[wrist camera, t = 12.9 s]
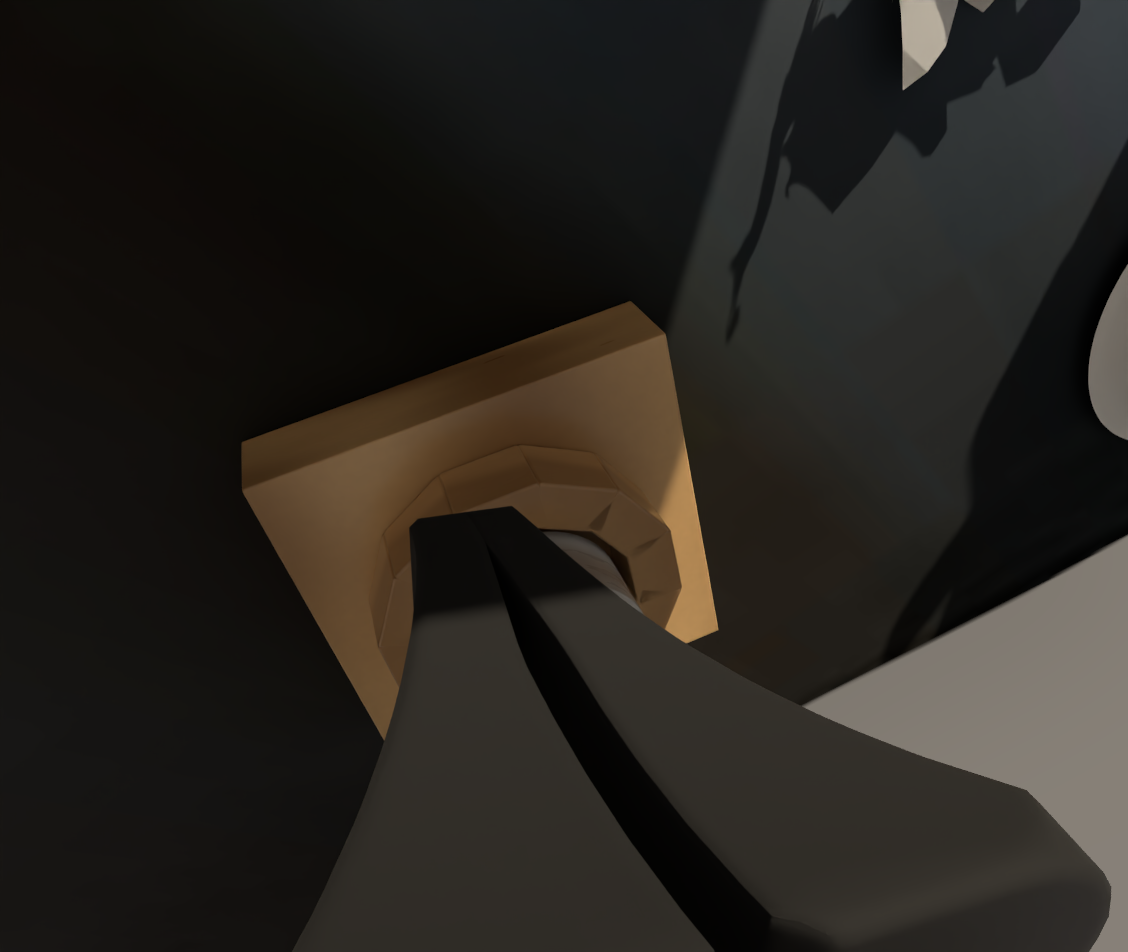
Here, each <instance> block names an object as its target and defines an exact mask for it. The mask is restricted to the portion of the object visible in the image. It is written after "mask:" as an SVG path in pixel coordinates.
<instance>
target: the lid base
mask: <svg viewBox="0 0 1128 952" xmlns="http://www.w3.org/2000/svg"><path fill="white" fill-rule="evenodd" d="M241 444H242V492H243V494H244V496H245V497H246V499H247V501H248V503H249V504H250V506H251V508H252V510H253V511H254V513H255V515H256V517H257V518H258V520H259V522H260V524H261V525H262V527H263V529H264V531H265V532H266V534H267V536H268V538H269V539H270V541H271V543H272V545H273V546H274V548H275V550H276V552H277V554H278V555H279V557H280V559H281V561H282V562H283V564H284V566H285V568H286V569H287V571H288V573H289V575H290V576H291V578H292V580H293V582H294V583H295V585H296V587H297V589H298V590H299V592H300V594H301V596H302V597H303V599H304V601H305V603H306V604H307V606H308V608H309V610H310V611H311V613H312V615H313V617H314V618H315V620H316V622H317V624H318V625H319V627H320V629H321V631H322V632H323V634H324V636H325V638H326V639H327V641H328V643H329V645H330V646H331V648H332V650H333V652H334V653H335V655H336V657H337V659H338V661H339V662H340V664H341V666H342V668H343V669H344V671H345V673H346V675H347V676H348V678H349V680H350V682H351V683H352V685H353V687H354V689H355V690H356V692H357V694H358V696H359V697H360V699H361V701H362V703H363V704H364V706H365V708H366V710H367V711H368V713H369V715H370V717H371V718H372V720H373V722H374V724H375V725H376V727H377V729H378V731H379V732H380V734H381V736H382V738H383V739H384V740H385V737H386V734H387V730H388V727H389V724H390V721H391V717H392V714H393V710H394V707H395V703H396V699H397V695H398V691H399V687H400V683H401V679H402V674H403V669H404V664H405V659H406V654H407V649H408V644H409V639H410V634H411V628H412V620H413V611H414V609H413V590H412V572H411V554H410V536H409V527H410V526H411V525H412V524H413V523H414V522H415V521H416V520H417V519H419V518H426V517H433V516H441V515H448V514H455V513H463V512H470V511H477V510H485V509H492V508H499V507H507V506H513V507H514V508H515V509H516V510H518V511H519V512H520V513H521V514H522V515H523V516H525V517H526V518H527V519H528V520H529V521H530V522H531V523H533V524H534V525H535V526H536V527H537V528H538V529H539V530H540V531H542V532H565V533H571V534H575V535H578V536H581V537H583V538H586V539H588V540H590V541H592V542H593V543H595V544H597V545H598V546H599V547H600V548H602V549H603V550H604V551H605V552H606V553H607V555H608V556H609V557H610V558H611V560H612V562H613V563H614V565H615V567H616V568H617V570H618V572H619V573H620V575H621V577H622V579H623V580H624V582H625V584H626V585H627V587H628V589H629V590H630V592H631V594H632V595H633V597H634V599H635V600H636V602H637V604H638V605H639V607H640V609H641V611H642V612H643V614H644V615H645V616H646V617H648V618H649V619H651V620H652V621H654V622H655V623H656V624H658V625H659V626H661V627H662V628H664V629H665V630H666V631H668V632H669V633H671V634H672V635H674V636H675V637H677V638H678V639H680V640H681V641H683V642H685V643H689V642H691V641H693V640H696V639H698V638H700V637H703V636H705V635H708V634H710V633H712V632H715V631H717V630H718V625H717V619H716V613H715V608H714V602H713V597H712V591H711V585H710V580H709V574H708V569H707V563H706V557H705V552H704V546H703V541H702V535H701V529H700V524H699V518H698V513H697V507H696V501H695V496H694V490H693V485H692V479H691V473H690V468H689V462H688V456H687V451H686V445H685V440H684V434H683V428H682V423H681V417H680V412H679V406H678V400H677V395H676V389H675V384H674V378H673V372H672V367H671V361H670V356H669V350H668V344H667V339H666V334H665V333H664V332H663V331H662V330H661V329H660V328H659V327H658V326H657V325H656V324H655V323H654V322H652V321H651V320H650V319H649V318H648V317H647V316H646V315H645V314H644V313H643V312H642V311H641V310H640V309H639V308H638V307H637V306H636V305H634V304H633V303H632V302H631V301H629V302H626V303H624V304H621V305H618V306H615V307H613V308H610V309H607V310H604V311H602V312H599V313H596V314H593V315H591V316H588V317H585V318H582V319H580V320H577V321H574V322H571V323H569V324H566V325H563V326H560V327H558V328H555V329H552V330H549V331H547V332H544V333H541V334H538V335H536V336H533V337H530V338H527V339H525V340H522V341H519V342H516V343H514V344H511V345H508V346H505V347H503V348H500V349H497V350H494V351H491V352H489V353H486V354H483V355H480V356H478V357H475V358H472V359H469V360H467V361H464V362H461V363H458V364H456V365H453V366H450V367H447V368H445V369H442V370H439V371H436V372H434V373H431V374H428V375H425V376H423V377H420V378H417V379H414V380H412V381H409V382H406V383H403V384H401V385H398V386H395V387H392V388H390V389H387V390H384V391H381V392H379V393H376V394H373V395H370V396H368V397H365V398H362V399H359V400H357V401H354V402H351V403H348V404H346V405H343V406H340V407H337V408H335V409H332V410H329V411H326V412H324V413H321V414H318V415H315V416H313V417H310V418H307V419H304V420H302V421H299V422H296V423H293V424H291V425H288V426H285V427H282V428H279V429H277V430H274V431H271V432H268V433H266V434H263V435H260V436H257V437H255V438H252V439H249V440H246V441H244V442H242V443H241Z"/></svg>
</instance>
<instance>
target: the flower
mask: <svg viewBox="0 0 1128 952" xmlns="http://www.w3.org/2000/svg"><path fill="white" fill-rule="evenodd" d="M965 1H966V2H968V3H969V4H971V5H972V6H974V7H975V8H977V9H978V10H980V11H981V12H984V11H985V10H986V9H987V8H988V7H989V6H990V5H991V3H992V2H993V1H994V0H965ZM892 2H893V0H892ZM899 2H900V9H901V22H902V45H903V90H904V89H906V88H907V87H908V86H910V85H911V84H912V83H913V82H915V81H916V80H917V79H919V78H920V77H921V76H923V75H924V74H925V73H927V72H928V70H929V69H930V68H931V66H932V65H933V63H934V62H935V61H936V59H937V58H938V57H939V55H940V54H941V52H942V51H943V50H944V48H945V47H946V44H947V41H948V37H949V33H950V29H951V26H952V22H953V18H954V15H955V11H956V7H957V4H958V0H899Z"/></svg>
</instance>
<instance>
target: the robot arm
mask: <svg viewBox="0 0 1128 952" xmlns="http://www.w3.org/2000/svg"><path fill="white" fill-rule="evenodd" d="M409 536H410V554H411V572H412V590H413V609H414V611H413V620H412V628H411V634H410V639H409V644H408V649H407V654H406V659H405V664H404V669H403V674H402V679H401V683H400V687H399V691H398V695H397V699H396V703H395V707H394V710H393V714H392V717H391V721H390V724H389V727H388V730H387V734H386V737H385V740H384V744H383V747H382V750H381V753H380V755H379V758H378V761H377V764H376V767H375V769H374V772H373V775H372V778H371V781H370V783H369V786H368V789H367V792H366V794H365V797H364V800H363V802H362V805H361V807H360V810H359V812H358V815H357V817H356V820H355V822H354V825H353V827H352V829H351V831H350V833H349V836H348V838H347V840H346V842H345V845H344V847H343V849H342V851H341V853H340V856H339V858H338V860H337V862H336V864H335V867H334V869H333V871H332V873H331V876H330V878H329V880H328V882H327V884H326V887H325V889H324V891H323V893H322V895H321V897H320V899H319V901H318V903H317V905H316V907H315V909H314V911H313V913H312V915H311V917H310V919H309V921H308V923H307V925H306V927H305V928H304V930H303V932H302V934H301V936H300V938H299V940H298V941H297V943H296V945H295V947H294V949H293V951H292V952H1089V951H1090V949H1091V947H1092V946H1093V945H1094V943H1095V942H1096V940H1097V938H1098V937H1099V935H1100V933H1101V931H1102V929H1103V927H1104V924H1105V923H1106V921H1107V918H1108V917H1109V908H1110V900H1111V886H1110V884H1109V882H1108V880H1107V878H1106V876H1105V874H1104V873H1103V871H1102V870H1100V868H1099V867H1098V866H1097V865H1096V864H1095V863H1094V862H1093V861H1092V860H1091V859H1090V857H1089V856H1088V855H1087V854H1086V853H1085V852H1084V851H1083V850H1082V849H1081V848H1080V847H1079V846H1078V844H1077V843H1076V842H1075V841H1074V840H1073V839H1072V838H1071V837H1070V836H1069V835H1068V834H1067V832H1066V831H1065V830H1064V829H1063V828H1062V827H1061V826H1060V825H1059V824H1058V823H1057V822H1056V821H1055V819H1054V818H1053V817H1052V816H1051V815H1050V814H1049V813H1048V812H1047V811H1046V810H1045V809H1044V808H1043V806H1042V805H1041V804H1040V803H1039V802H1038V801H1037V800H1036V799H1035V798H1033V796H1032V795H1030V794H1029V792H1028V791H1027V790H1024V789H1021V788H1018V787H1015V786H1012V785H1009V784H1005V783H1002V782H999V781H996V780H993V779H990V778H987V777H984V776H981V775H978V774H974V773H971V772H968V771H965V770H962V769H959V768H956V767H953V766H949V765H946V764H943V763H940V762H937V761H934V760H931V759H928V758H925V757H922V756H919V755H916V754H914V753H911V752H909V751H906V750H903V749H901V748H898V747H896V746H893V745H891V744H888V743H886V742H883V741H881V740H878V739H875V738H873V737H870V736H868V735H865V734H863V733H860V732H858V731H855V730H853V729H851V728H848V727H846V726H844V725H841V724H838V723H837V722H834V721H832V720H830V719H827V718H825V717H823V716H821V715H818V714H816V713H814V712H812V711H810V710H808V709H806V708H804V707H802V706H800V705H798V704H795V703H793V702H791V701H789V700H787V699H785V698H783V697H781V696H779V695H777V694H775V693H773V692H771V691H769V690H767V689H765V688H763V687H761V686H759V685H757V684H755V683H753V682H751V681H750V680H748V679H746V678H744V677H742V676H740V675H738V674H737V673H735V672H733V671H732V670H730V669H728V668H726V667H725V666H723V665H721V664H720V663H718V662H716V661H714V660H713V659H711V658H709V657H708V656H706V655H704V654H703V653H701V652H699V651H697V650H696V649H694V648H692V647H691V646H689V645H688V644H686V643H685V642H683V641H681V640H680V639H678V638H677V637H675V636H674V635H672V634H671V633H669V632H668V631H666V630H665V629H664V628H662V627H661V626H659V625H658V624H656V623H655V622H654V621H652V620H651V619H649V618H648V617H646V616H645V615H644V614H642V613H641V612H639V611H638V610H636V609H635V608H634V607H632V606H631V605H630V604H628V603H627V602H626V601H624V600H623V599H622V598H620V597H619V596H618V595H617V594H615V593H614V592H613V591H612V590H610V589H609V588H608V587H607V586H605V585H604V584H603V583H602V582H600V581H599V580H598V579H597V578H595V577H594V576H593V575H592V574H590V573H589V572H588V571H587V570H585V569H584V568H583V567H582V566H581V565H580V564H578V563H577V562H576V561H575V560H574V559H572V558H571V557H570V556H569V555H568V554H567V553H566V552H564V551H563V550H562V549H561V548H560V547H559V546H557V545H556V544H555V543H554V542H553V541H552V540H551V539H550V538H548V537H547V536H546V535H545V534H544V533H543V532H542V531H540V530H539V529H538V528H537V527H536V526H535V525H534V524H533V523H531V522H530V521H529V520H528V519H527V518H526V517H525V516H523V515H522V514H521V513H520V512H519V511H518V510H516V509H515V508H514V507H513V506H507V507H499V508H492V509H485V510H477V511H470V512H463V513H455V514H448V515H441V516H433V517H426V518H419V519H417V520H416V521H415V522H414V523H413V524H412V525H411V526H410V527H409Z"/></svg>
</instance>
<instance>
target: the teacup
mask: <svg viewBox="0 0 1128 952" xmlns="http://www.w3.org/2000/svg"><path fill="white" fill-rule="evenodd" d="M1088 385H1089V393H1090V398H1091V402H1092V406H1093V408H1094V411H1095V413H1096V414H1097V416H1098V418H1099V420H1100V421H1101V423H1102V424H1103V425H1104V426H1105V427H1106V428H1107V429H1108V430H1110V431H1111V432H1112V433H1113V434H1115V435H1117V436H1119V437H1121V438H1124V439H1127V440H1128V265H1127V266H1126V268H1125V270H1124V271H1123V273H1122V275H1121V276H1120V278H1119V280H1118V282H1117V284H1116V285H1115V287H1114V289H1113V291H1112V293H1111V295H1110V297H1109V299H1108V301H1107V303H1106V306H1105V308H1104V311H1103V313H1102V316H1101V318H1100V321H1099V324H1098V327H1097V330H1096V333H1095V336H1094V340H1093V344H1092V349H1091V354H1090V360H1089V373H1088Z"/></svg>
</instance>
